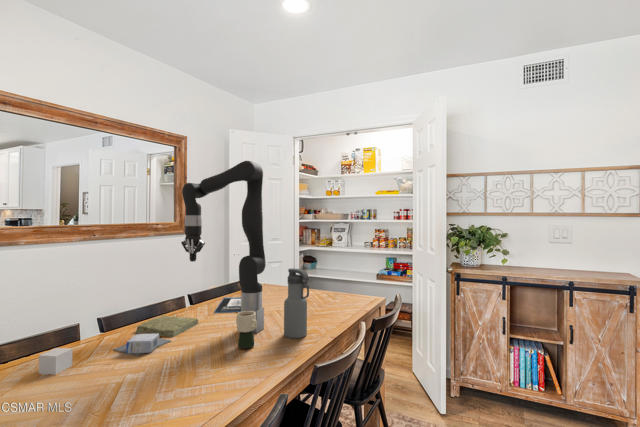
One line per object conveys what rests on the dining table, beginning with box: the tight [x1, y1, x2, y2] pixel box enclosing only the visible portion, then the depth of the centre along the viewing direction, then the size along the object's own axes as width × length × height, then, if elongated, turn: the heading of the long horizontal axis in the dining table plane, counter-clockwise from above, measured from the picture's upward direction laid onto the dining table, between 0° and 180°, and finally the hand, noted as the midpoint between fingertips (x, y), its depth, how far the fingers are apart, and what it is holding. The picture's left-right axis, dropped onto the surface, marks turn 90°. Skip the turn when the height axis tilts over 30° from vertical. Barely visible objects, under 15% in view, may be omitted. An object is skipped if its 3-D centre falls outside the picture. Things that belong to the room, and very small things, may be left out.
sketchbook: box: [213, 296, 241, 314], centre depth 186 cm, size 22×30×2 cm
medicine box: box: [126, 333, 160, 354], centre depth 123 cm, size 8×4×9 cm
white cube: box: [38, 347, 73, 376], centre depth 107 cm, size 6×6×6 cm
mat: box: [113, 337, 172, 357], centre depth 127 cm, size 13×15×1 cm
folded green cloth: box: [135, 315, 199, 338], centre depth 147 cm, size 19×20×4 cm
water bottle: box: [283, 267, 310, 340], centre depth 140 cm, size 10×10×28 cm
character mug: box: [235, 311, 257, 349], centre depth 126 cm, size 11×7×13 cm, turn 56°
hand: (192, 261), depth 156 cm, fingers closed
